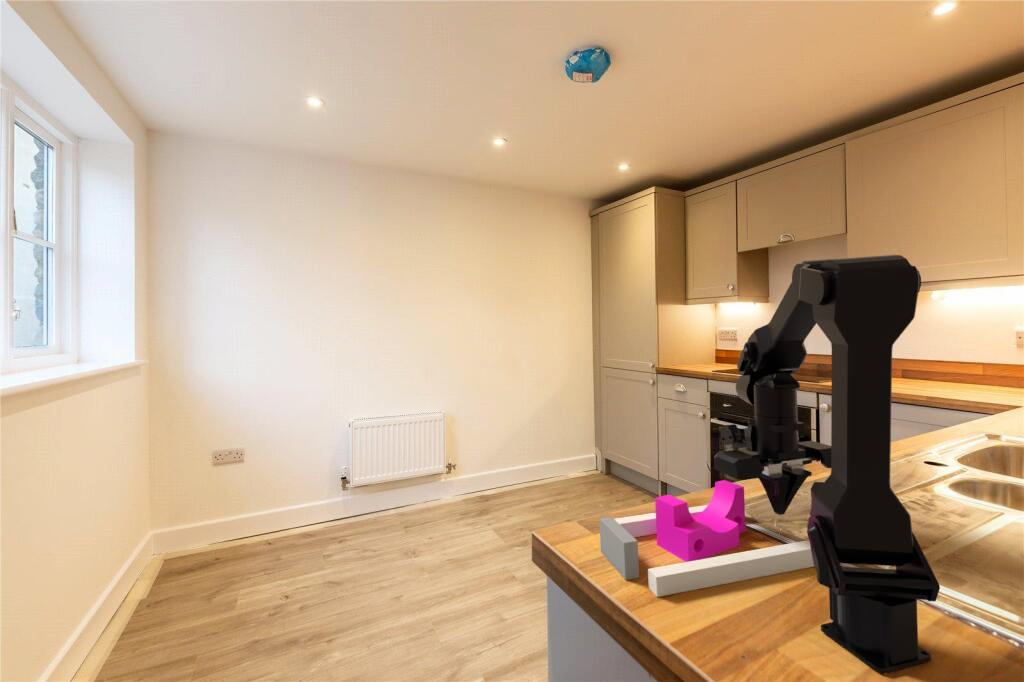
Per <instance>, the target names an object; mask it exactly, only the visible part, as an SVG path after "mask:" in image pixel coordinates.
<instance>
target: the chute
mask: <svg viewBox="0 0 1024 682" xmlns="http://www.w3.org/2000/svg"><path fill="white" fill-rule="evenodd" d="M707 506H708V504H705V505H698V506H692V507H690V506H689V507H688V509H689V512H690V514H691V516H692V517H693V516H696V515H698V514H700V513H701V512H702V511H703V510H704V509H705V508H706V507H707ZM598 521H599V540H600V541H599V542H600V552H601V554H602V555H603V556H604V557H605V558H606V559H607V560H608V561H609V563H610V564H611V565H612V566H613V567H614V569H615V570H616V571H617V572H618V573H619V574H620V576H621V577H622V578H623V579H624V580H625V581H627V580H633V579H637V578H640V568H639V566H640V565H639V546H638V545H639V543H638V540H637V539H636V538H637V537H645V536H651V535H657V530H656V512H652V513H645V514H638V515H630V516H625V517H617V518H614V517H612V516H609V517H602V518H599V519H598ZM813 567H814V568H815V566H814V563H813V558H812V552H811V546H810V541H809V539H807V540H803V541H796V542H790V543H786V544H785V543H784V544H780V545H774V546H769V547H764V548H757V549H751V550H747V551H741V552H736V553H735V552H734V553H730V554H723V555H719V556H712V557H706V558H703V559H700V560H695V561H689V562H685V561H684V562H679V563H674V564H668V565H662V566H656V567H651V568H648V569H647V578H648V581H647V582H648V589H649V590H650V591H651V592H652V593H653V594H654V596H656V598H659V597H663V596H664V597H665V596H669V595H674V594H675V595H676V594H679V593H685V592H689V591H696V590H700V589H706V588H710V587H715V586H720V585H727V584H731V583H736V582H741V581H747V580H752V579H756V578H762V577H767V576H771V575H777V574H782V573H788V572H792V571H798V570H803V569H808V568H813Z"/></svg>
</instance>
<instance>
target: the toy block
mask: <svg viewBox="0 0 1024 682" xmlns="http://www.w3.org/2000/svg"><path fill="white" fill-rule="evenodd" d="M654 502H655V503H654V504H655V513H656V530H657V534H656V545H657V546H658V547H660V548H662V549H663V550H666V551H667V552H669V553H670V554H671V555H674V556H675V557H677V558H679V559H681V560H682V561H684V562H689V561H695V560H701V559H706V558H710V557H711V556H712V557H713V556H714V555H717V554H720V553H723V552H725V551H728V550H730V549H731V550H732V549H733V548H736V547H739V546H740V534H742V533H746V530H747V529H746V510H745V508H746V507H745V504H746V503H745V487H744V486H743V485H740V484H737V483H734V482H731V481H728V480H725V479H723V480H720V481H715V483H714V489H713V494H712V497H711V498H710V501H709V503H708V504H707V505H708V506H707V507H706V508H705V509H704V510H703V511H702V512H701V513H700V514H698V515H696V516H693V517H692V516H691V514H690V512H689V509H688V508H689V507H688V502H687V501H685V500H682V499H681V498H677V497H675V496H673V495H670V494H665V495H662V496H658V497H655V499H654Z"/></svg>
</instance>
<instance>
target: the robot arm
mask: <svg viewBox="0 0 1024 682" xmlns="http://www.w3.org/2000/svg"><path fill="white" fill-rule="evenodd" d="M921 286H922V277H921V273H920V271H919V270H918V268H917V267H916V265H912V264H911V263H910V262H909V260H908V259H907V258H906V257H904V256H903V255H901V254H888V255H887V254H886V255H873V256H859V257H846V258H845V257H844V258H829V259H827V258H826V259H816V260H815V259H812V260H804V261H802V262H801V263H797V264H795V265H794V266H793V269H792V273H791V282H790V284H789V286H788V288H787V290H786V291H785V293H784V296H783V297H782V299H781V300H780V303H779V304H778V307H777V308H776V310H775V312H774V314H773V315H772V317H771V319H770V321H769V322H768V324H765V325H763V326H760V327H758V328H756V329H755V330H754V331H753V332H752V333H751V334H750V336H749V337H748V339H747V341H746V342H745V343H744V344H743V349H742V350H741V353H740V356H739V359H738V361H737V364H736V366H737V367H736V368H737V371H738V374H739V375H740V376H739V377H738V379H737V380H736V384H735V390H736V394H737V396H738V397H739V399H741V400H743V401H744V402H746V403H747V404H749V405H751V406H754V418H748V421H747V427H745V428H738V426H737V425H736V424H725V425H721V426H720V437H721V442H722V444H723V445H725V446H729V445H731V448H732V450H723V451H718V452H717V453H716V454H715V455H714V458H713V468H714V470H715V471H717V472H720V473H723V474H724V475H727V476H729V477H731V478H733V479H735V480H739V481H748V480H754V479H758V480H759V481H760V483H761V485H762V487H763V488H764V492H765V495H766V496H767V498H768V500H769V503H770V506H771V507H772V509H773V510H772V511H773V513H775V514H776V515H779V516H781V515H785V513H786V511H787V510H788V508H789V506H790V504H791V503H792V501H793V500H794V498H795V496H796V495H797V493H798V491H799V490H800V489H801V487H802V486H803V484H804V483H805V482H806V480H807V478H808V477H812V475H813V472H812V471H810V470H806V469H805V466H804V463H805V462H811V461H812V462H813V461H820V464H821V465H822V466H823V467H824V468H826V469H830V474H829V476H827V479H825V480H824V481H814V482H813V484H812V486H811V488H810V497H811V500H810V501H811V504H810V505H811V506H810V507H811V508H810V511H809V515H810V516H809V517H808V522H807V525H806V528H807V529H806V533H807V536H808V540H809V541H810V546H811V552H812V558H813V563H814V568H815V569H814V570H815V571H816V580H817V582H818V583H819V585H822V586H824V587H827V588H828V597H829V619H830V620H831V621H832V622H831V621H830V622H827V623H822V624H821V625H820V630H821V632H822V633H824V634H825V636H828V637H829V638H831V639H832V640H834V642H836V643H837V644H839V645H840V646H841V647H843V648H844V649H846V650H847V651H848V652H850V653H851V654H853V656H855V657H856V658H858V659H859V660H861V661H862V662H863V663H865V664H866V665H868V666H869V667H870V668H872V669H873V670H874V671H876V672H878V673H882V674H886V673H890V672H895V671H898V670H901V669H906V668H909V667H913V666H916V665H920V664H924V663H927V662H931V661H932V654H931V653H930V652H929V651H927V650H926V649H924V648H922V647H921V646H919V633H918V630H919V629H918V600H920V601H921V600H922V601H928V602H936V601H937V598H938V595H939V592H940V587H941V586H940V583H939V582H938V579H937V577H936V576H935V575H936V574H935V573H934V571H933V570H932V568H931V566H930V563H929V561H928V560H927V558H926V555H925V553H924V552H923V550H922V549H923V548H921V546H920V544H919V541H918V539H917V538H916V535H915V534H914V532H913V526H912V517H911V515H910V513H909V512H908V510H907V509H906V507H905V506H904V505H903V503H902V502H901V501H900V499H899V497H898V496H897V495H896V493H895V492H894V490H893V489H892V488H891V460H892V459H891V449H892V448H891V447H892V446H891V445H892V441H891V440H892V395H893V393H892V389H893V388H892V387H893V386H892V383H893V381H892V380H893V347H894V344H895V343H896V341H898V339H899V338H900V337H901V336H902V334H903V333H904V332H905V330H906V329H908V327H909V326H910V324H911V323H912V322H913V321H914V319H915V316H916V310H917V304H918V296H919V293H920V289H921ZM816 325H817V326H818V327H819V329H820V330H821V332H822V333H823V334H824V335H825V336H826V338H827V339H828V341H829V342H830V344H831V345H830V346H831V401H830V402H831V403H830V404H831V406H830V407H831V417H830V419H831V420H830V421H831V426H830V427H831V430H830V431H831V434H830V437H831V441H830V442H831V443H830V444H831V445H828V444H824V443H822V442H821V443H820V442H818V441H813V440H806V441H799V431H803V430H805V429H806V428H805V427H806V426H805V425H806V424H805V422H801V421H798V420H799V419H798V417H799V416H798V395H797V394H798V389H800V387H801V385H800V382H799V381H798V380H797V379H796V378H795V377H794V376H792V375H795V374H796V373H797V372H798V370H799V369H800V368H801V367H802V365H803V363H804V362H805V361H806V356H807V354H808V353H807V352H808V351H807V348H806V345H805V341H806V339H807V338H808V336H809V334H811V332H812V330H813V329H814V327H816ZM743 448H744V449H745V450H746V451H747V452H749V453H746V452H743V451H741V450H739V449H743ZM750 452H751V453H754V452H755V454H753V455H752V454H750ZM841 564H849V565H850V564H851V565H868V566H884V567H885V566H886V567H887V566H888V567H889V566H890V567H895V568H894V569H893V568H877V567H875V568H873V567H857V566H855V567H854V566H841Z"/></svg>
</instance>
